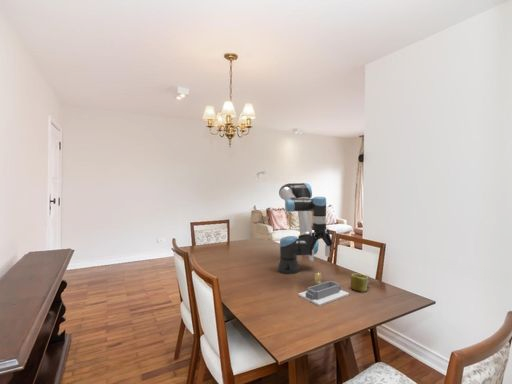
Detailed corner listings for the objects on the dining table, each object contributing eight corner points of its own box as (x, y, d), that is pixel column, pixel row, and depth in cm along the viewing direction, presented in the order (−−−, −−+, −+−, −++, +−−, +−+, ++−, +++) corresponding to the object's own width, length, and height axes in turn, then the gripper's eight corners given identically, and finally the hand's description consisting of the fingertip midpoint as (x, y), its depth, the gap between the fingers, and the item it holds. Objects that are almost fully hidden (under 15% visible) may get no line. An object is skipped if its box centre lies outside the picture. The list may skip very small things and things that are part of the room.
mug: (357, 291, 153) (357, 272, 156) (346, 290, 162) (346, 272, 165) (376, 293, 155) (376, 274, 158) (365, 292, 165) (365, 274, 168)
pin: (313, 285, 167) (313, 272, 166) (317, 284, 169) (317, 271, 168) (318, 287, 163) (318, 274, 163) (322, 286, 165) (322, 273, 165)
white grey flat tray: (298, 295, 153) (298, 286, 153) (327, 285, 166) (327, 277, 166) (319, 306, 140) (319, 296, 140) (349, 295, 153) (349, 286, 152)
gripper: (309, 226, 154) (309, 263, 155) (338, 221, 168) (338, 256, 169) (299, 224, 160) (299, 260, 161) (328, 219, 174) (328, 253, 175)
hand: (319, 258), depth 165 cm, fingers open, 13 cm apart
